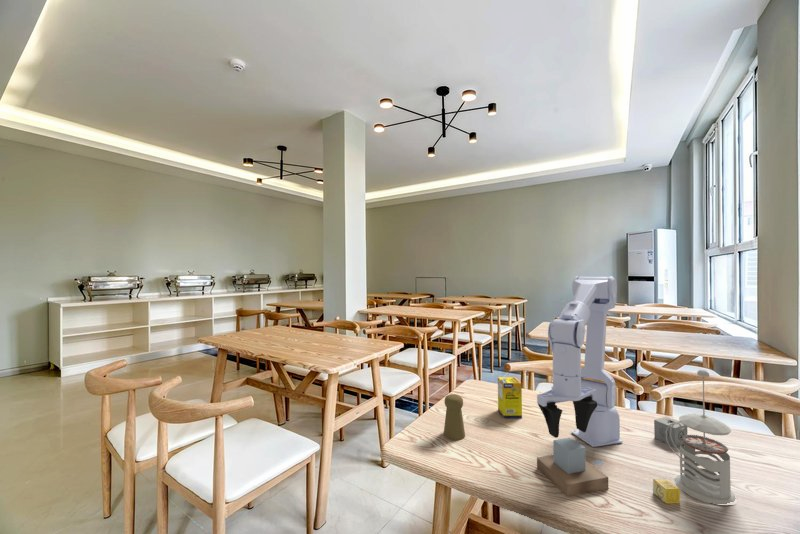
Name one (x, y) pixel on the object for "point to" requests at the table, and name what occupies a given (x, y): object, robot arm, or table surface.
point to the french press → (704, 458)
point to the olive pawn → (454, 418)
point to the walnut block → (573, 477)
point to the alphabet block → (666, 491)
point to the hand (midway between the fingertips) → (567, 432)
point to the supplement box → (510, 397)
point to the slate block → (569, 455)
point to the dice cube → (676, 432)
